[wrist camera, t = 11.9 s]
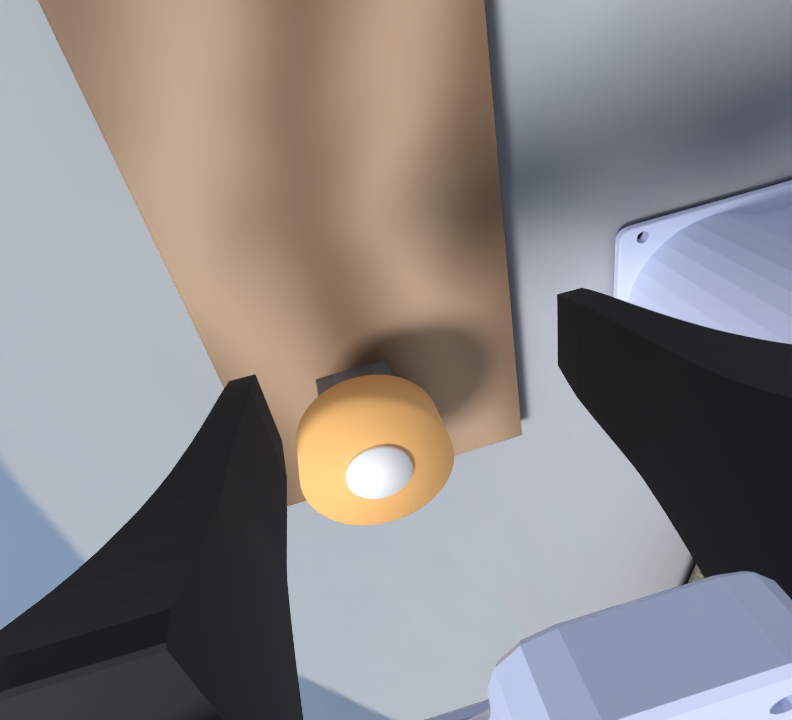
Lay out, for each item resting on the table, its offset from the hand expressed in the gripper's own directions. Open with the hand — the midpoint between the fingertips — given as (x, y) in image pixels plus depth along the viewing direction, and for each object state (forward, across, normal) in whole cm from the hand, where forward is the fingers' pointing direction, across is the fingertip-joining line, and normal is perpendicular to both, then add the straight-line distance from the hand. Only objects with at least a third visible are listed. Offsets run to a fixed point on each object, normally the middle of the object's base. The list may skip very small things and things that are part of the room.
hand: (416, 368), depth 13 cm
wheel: (+8, +1, +7) cm, 11 cm away
